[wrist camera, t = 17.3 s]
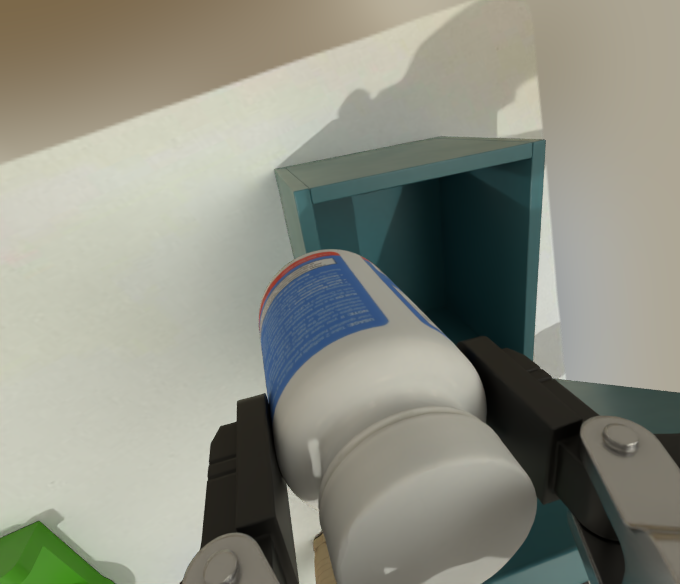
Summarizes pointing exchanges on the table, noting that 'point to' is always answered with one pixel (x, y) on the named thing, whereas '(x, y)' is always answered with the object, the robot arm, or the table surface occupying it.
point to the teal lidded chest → (434, 226)
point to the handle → (323, 562)
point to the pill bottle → (386, 429)
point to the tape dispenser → (42, 559)
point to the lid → (551, 519)
